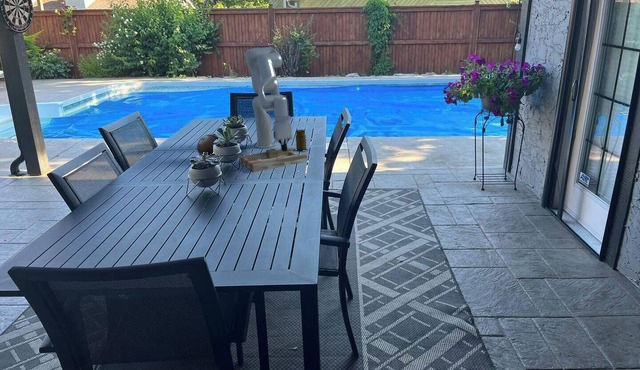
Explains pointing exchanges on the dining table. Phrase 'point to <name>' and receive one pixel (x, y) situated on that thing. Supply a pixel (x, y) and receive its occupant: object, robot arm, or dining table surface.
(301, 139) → the condiment
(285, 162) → the trap track
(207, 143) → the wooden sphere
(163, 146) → the dining table surface
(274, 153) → the walnut block
